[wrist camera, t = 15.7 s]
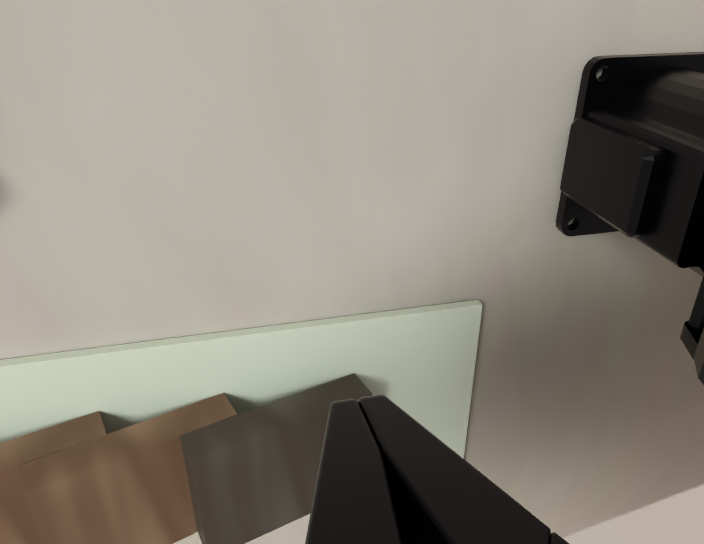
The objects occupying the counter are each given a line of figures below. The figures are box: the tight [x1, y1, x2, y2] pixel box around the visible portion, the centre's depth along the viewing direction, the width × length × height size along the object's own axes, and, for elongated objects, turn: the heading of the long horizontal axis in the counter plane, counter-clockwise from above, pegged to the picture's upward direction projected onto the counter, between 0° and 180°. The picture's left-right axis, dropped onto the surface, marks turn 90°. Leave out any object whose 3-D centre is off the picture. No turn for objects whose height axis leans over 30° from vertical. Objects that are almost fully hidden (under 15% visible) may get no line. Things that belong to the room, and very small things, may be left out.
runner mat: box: [0, 300, 482, 534], centre depth 23 cm, size 28×10×1 cm, turn 90°
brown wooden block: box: [21, 393, 238, 544], centre depth 22 cm, size 1×5×7 cm
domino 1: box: [0, 411, 106, 544], centre depth 21 cm, size 1×5×7 cm
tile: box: [180, 373, 372, 544], centre depth 23 cm, size 1×5×7 cm
